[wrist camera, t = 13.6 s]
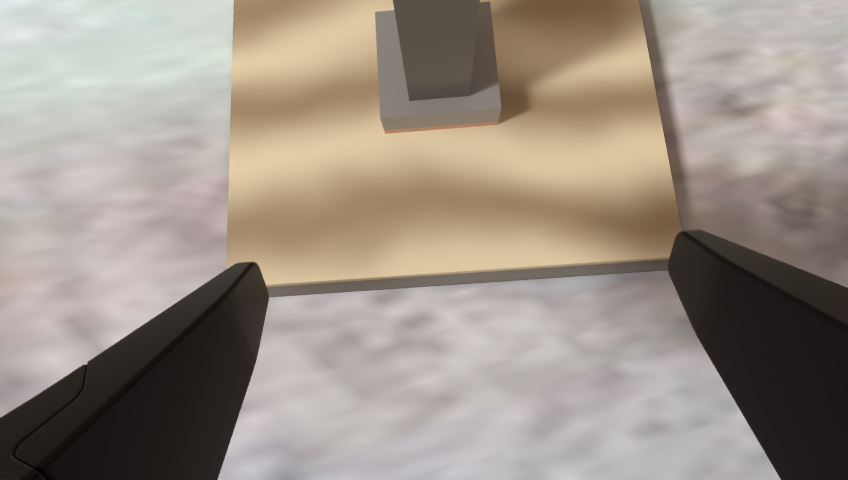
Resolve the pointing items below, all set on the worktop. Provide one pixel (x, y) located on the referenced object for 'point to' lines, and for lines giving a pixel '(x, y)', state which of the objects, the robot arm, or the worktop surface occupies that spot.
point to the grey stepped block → (436, 65)
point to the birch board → (445, 154)
